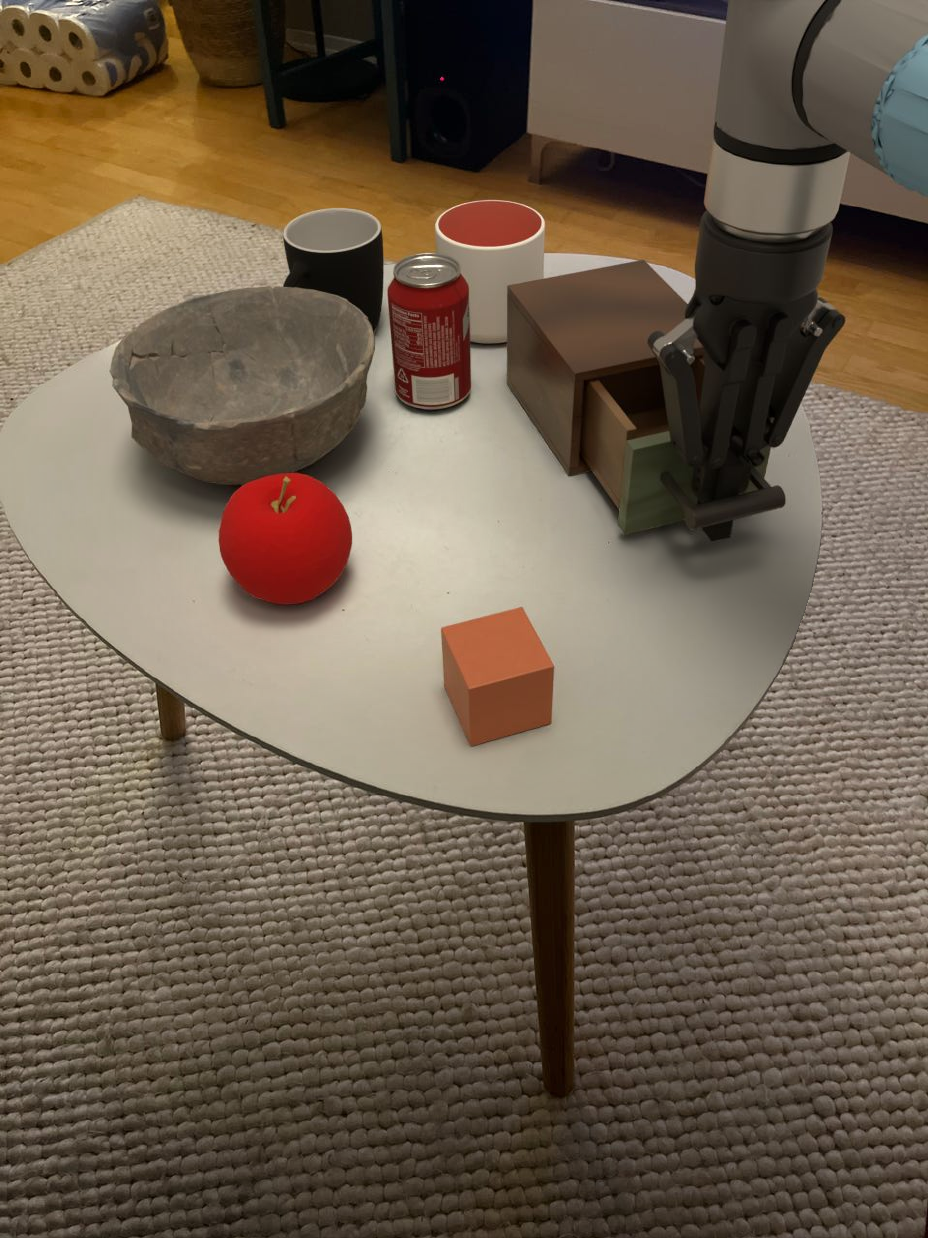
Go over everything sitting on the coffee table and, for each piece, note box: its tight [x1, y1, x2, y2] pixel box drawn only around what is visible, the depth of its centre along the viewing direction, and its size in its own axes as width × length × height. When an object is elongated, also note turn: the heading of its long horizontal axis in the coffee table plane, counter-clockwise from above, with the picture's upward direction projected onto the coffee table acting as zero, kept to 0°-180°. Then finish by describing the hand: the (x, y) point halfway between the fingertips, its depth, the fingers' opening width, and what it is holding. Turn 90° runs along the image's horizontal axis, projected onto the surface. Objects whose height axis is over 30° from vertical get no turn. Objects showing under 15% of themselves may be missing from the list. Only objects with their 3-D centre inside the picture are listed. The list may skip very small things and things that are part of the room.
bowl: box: [109, 285, 376, 486], centre depth 86 cm, size 21×21×10 cm
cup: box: [434, 199, 546, 344], centre depth 100 cm, size 10×10×10 cm
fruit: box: [218, 472, 353, 605], centre depth 75 cm, size 9×9×10 cm
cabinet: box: [506, 259, 704, 477], centre depth 89 cm, size 15×13×10 cm
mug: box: [282, 207, 385, 333], centre depth 99 cm, size 12×9×10 cm
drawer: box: [579, 355, 787, 535], centre depth 81 cm, size 19×11×8 cm, turn 19°
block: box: [440, 606, 555, 747], centre depth 68 cm, size 6×6×6 cm
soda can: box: [386, 252, 472, 411], centre depth 91 cm, size 7×7×12 cm
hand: (712, 528), depth 78 cm, fingers closed
